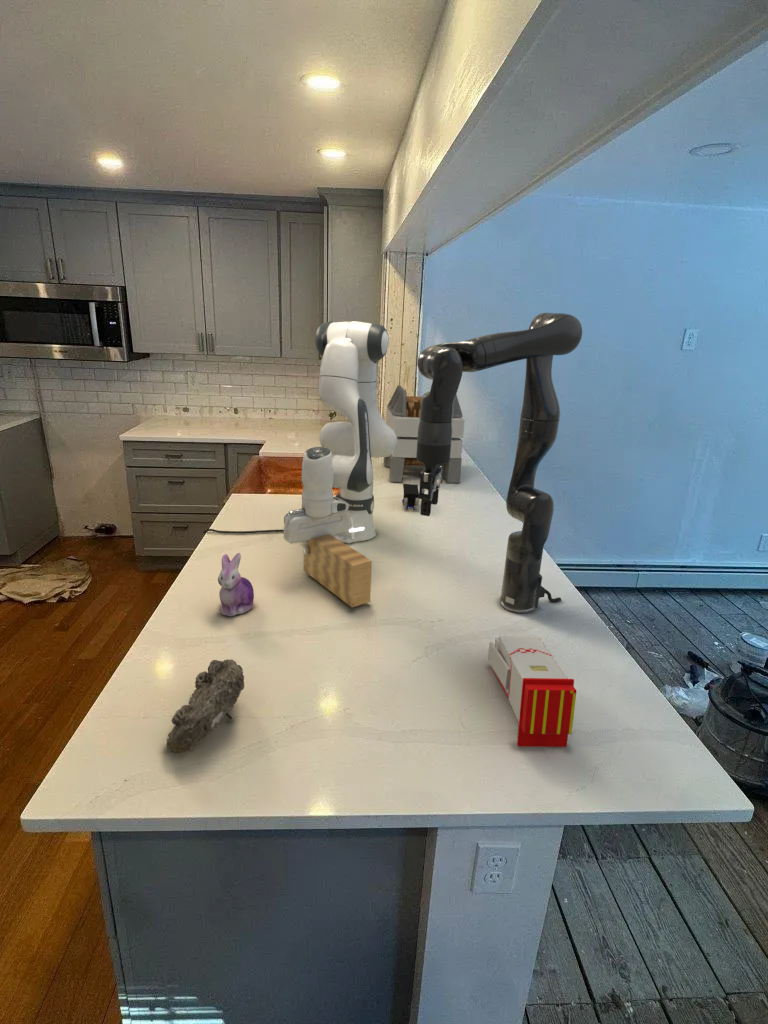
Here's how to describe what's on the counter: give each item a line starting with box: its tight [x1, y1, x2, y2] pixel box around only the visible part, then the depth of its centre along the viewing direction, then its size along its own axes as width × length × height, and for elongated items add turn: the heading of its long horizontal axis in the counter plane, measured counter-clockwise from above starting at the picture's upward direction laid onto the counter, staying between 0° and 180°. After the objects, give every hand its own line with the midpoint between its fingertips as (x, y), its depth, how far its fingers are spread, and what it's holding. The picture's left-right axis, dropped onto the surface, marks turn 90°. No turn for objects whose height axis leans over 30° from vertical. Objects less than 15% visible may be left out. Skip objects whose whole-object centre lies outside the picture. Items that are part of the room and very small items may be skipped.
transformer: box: [383, 384, 465, 484], centre depth 268 cm, size 34×33×41 cm
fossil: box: [166, 658, 245, 754], centre depth 106 cm, size 22×10×15 cm
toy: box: [486, 635, 577, 748], centre depth 115 cm, size 12×13×30 cm
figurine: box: [217, 552, 255, 617], centre depth 144 cm, size 9×10×15 cm
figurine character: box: [401, 483, 420, 511], centre depth 227 cm, size 7×8×15 cm
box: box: [302, 534, 373, 608], centre depth 157 cm, size 26×6×12 cm, turn 37°
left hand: (317, 550), depth 164 cm, fingers closed on box, 6 cm apart
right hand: (429, 509), depth 131 cm, fingers open, 8 cm apart
